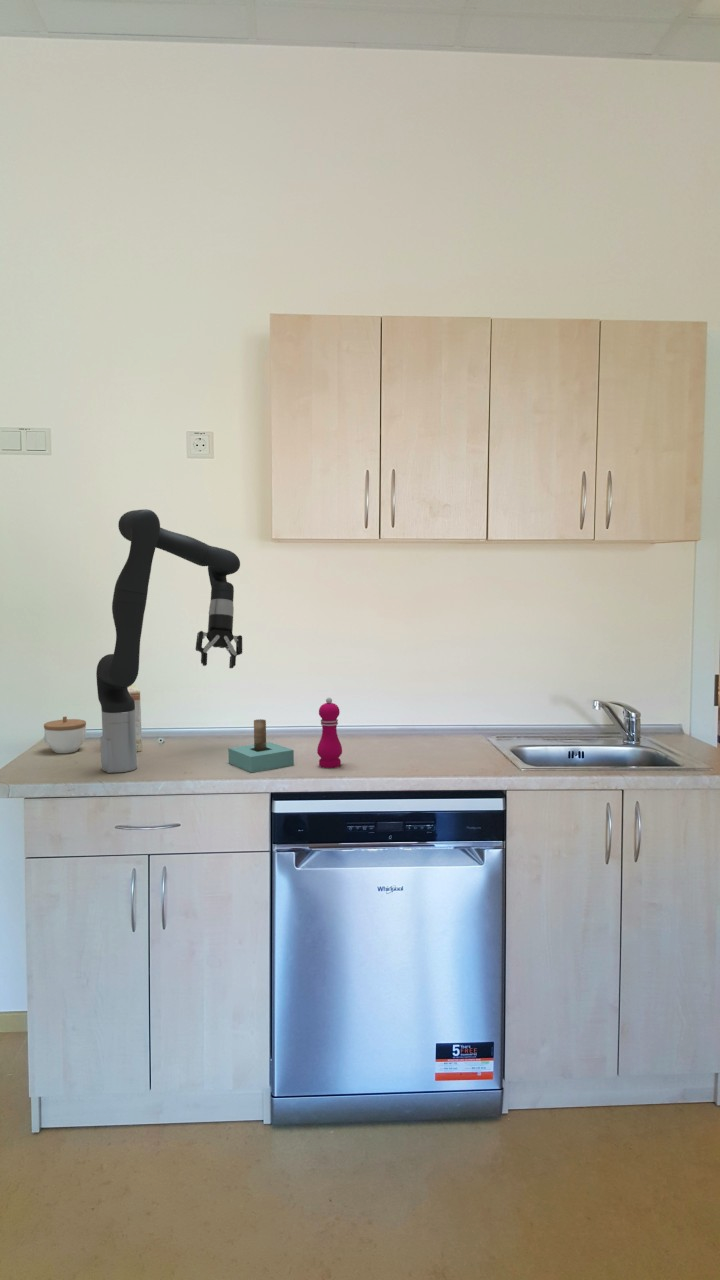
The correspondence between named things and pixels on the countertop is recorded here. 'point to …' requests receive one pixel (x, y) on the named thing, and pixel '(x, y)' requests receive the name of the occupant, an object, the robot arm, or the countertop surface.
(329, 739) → the pepper mill
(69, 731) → the lidded bowl
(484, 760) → the countertop surface
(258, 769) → the socket block
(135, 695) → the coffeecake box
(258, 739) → the peg
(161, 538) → the robot arm
